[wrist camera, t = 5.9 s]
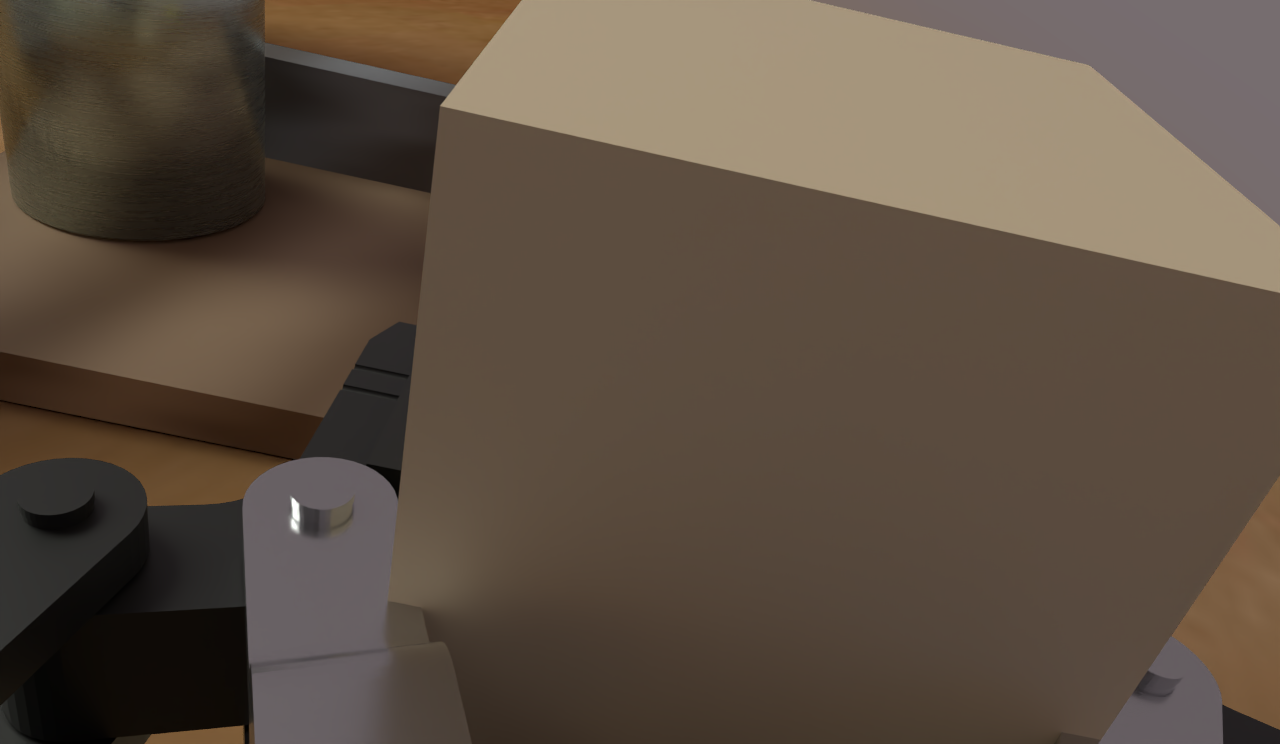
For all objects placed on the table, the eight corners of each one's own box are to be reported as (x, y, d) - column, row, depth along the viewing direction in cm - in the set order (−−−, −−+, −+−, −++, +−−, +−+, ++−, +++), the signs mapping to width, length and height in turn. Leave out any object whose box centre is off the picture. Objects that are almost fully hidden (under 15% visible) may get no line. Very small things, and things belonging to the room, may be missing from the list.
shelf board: (-243, 351, 21) (-300, 154, 18) (95, 139, 32) (84, 1, 30) (910, 582, 22) (983, 424, 20) (844, 299, 33) (886, 178, 31)
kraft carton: (333, 1112, 12) (440, 106, 6) (444, 717, 17) (568, -59, 10) (796, 1190, 12) (1386, 317, 6) (773, 780, 17) (1084, 61, 11)
